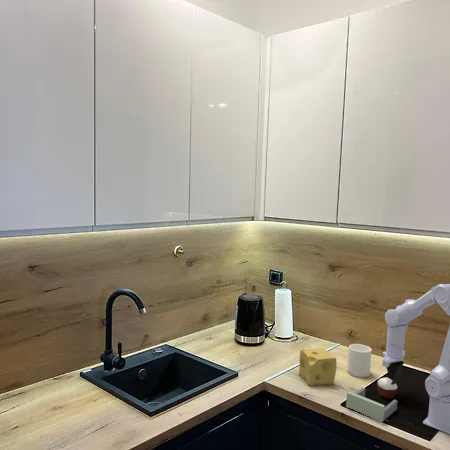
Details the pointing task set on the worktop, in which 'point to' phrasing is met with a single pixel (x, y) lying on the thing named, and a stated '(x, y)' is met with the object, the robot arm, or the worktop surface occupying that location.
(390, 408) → the box
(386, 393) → the cocoa
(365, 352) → the cup
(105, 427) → the worktop surface
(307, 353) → the cheese
